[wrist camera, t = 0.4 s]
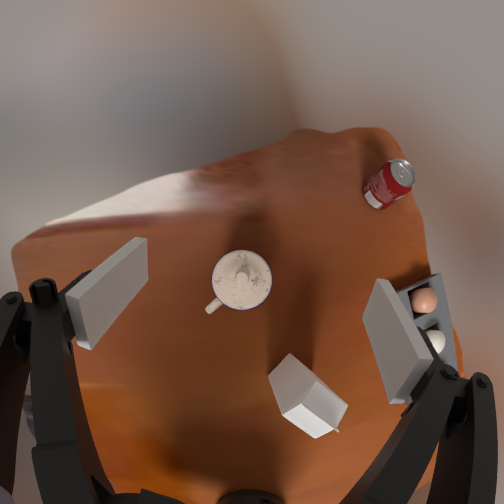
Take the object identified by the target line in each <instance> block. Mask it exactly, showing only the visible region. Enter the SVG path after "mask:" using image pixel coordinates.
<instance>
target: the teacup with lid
mask: <svg viewBox="0 0 504 504" xmlns="http://www.w3.org/2000/svg"><path fill="white" fill-rule="evenodd" d="M211 282H212V288H213V291H214V293H215V295H216V298H215V299H214V300H213V301H212V302H211V303H210V304H209V305H208V306H207V307H206V308H205V310H206V312H207V313H209V314H211V313H212V312H214V311H215V310H216V309H217V308H219V307H220V306H221V305H222V304H224V305H225V306H227V307H229V308H231V309H234V310H250V309H253V308H255V307H257V306H259V305H260V304H261V303H263V302H264V301H265V299H266V298H267V297H268V295H269V293H270V291H271V288H272V282H273V278H272V272H271V269H270V267H269V265H268V263H267V262H266V261H265V259H264V258H263V257H261V256H260V255H259V254H257V253H255V252H253V251H249V250H234V251H231V252H229V253H227V254H225V255H224V256H223V257H221V258H220V259H219V260H218V262H217V263H216V265H215V267H214V269H213V272H212V277H211Z"/></svg>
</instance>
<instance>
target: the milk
mask: <svg viewBox="0 0 504 504" xmlns="http://www.w3.org/2000/svg"><path fill="white" fill-rule="evenodd" d="M268 379H269V382H270V384H271V387H272V390H273V393H274V395H275V398H276V401H277V403H278V406H279V409H280V411H281V414H282V416H284V417H285V418H286V419H288V420H289V421H290V422H292V423H293V424H295V425H296V426H297V427H299V428H300V429H302V430H303V431H304V432H306V433H307V434H309V435H310V436H312V437H313V438H315V439H316V438H318V437H320V436H322V435H324V434H326V433H328V432H330V431H332V430H336V431H337V432H339V430H338V429H337V426H338V424H339V422H340V420H341V418H342V417H343V415H344V413H345V411H346V409H347V407H348V405H347V404H346V403H345V402H344V401H343V400H342V399H341V398H339V397H338V396H337V395H336V394H335V393H334V392H333V391H332V390H331V389H330V388H329V387H328V386H327V385H326V384H325V383H323V382H322V381H321V380H320V379H319V378H318V377H317V376H316V375H315V374H314V373H313V372H312V371H311V370H310V369H308V368H307V367H306V366H305V365H304V364H302V363H301V362H300V361H299V360H298V359H297V358H295V357H294V356H293V355H292V354H291V353H289V354H288V355H287V356H286V357H285V358H284V359H283V360H282V361H281V362H280V363H279V364H278V366H277V367H276V368H275V369H274V370H273V371H272V372H271V373H270V374H269V375H268Z"/></svg>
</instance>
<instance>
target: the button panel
mask: <svg viewBox="0 0 504 504" xmlns="http://www.w3.org/2000/svg"><path fill="white" fill-rule="evenodd" d="M420 285H421V287H422V288H432V289H433V290H434V291H435V292H436V294H437V305H436V308H435V309H434V310H433V311H432V312H430V313H418V314H416V315H414V316H413V313H412V309H411V305H410V301H409V297H408V293H407V291H409V290H411V289H414V288H416V287H418V286H420ZM395 292H396V293H397V295H398V296H399V298H400V300H401V301H402V303H403V305H404V306H405V308H406V310H407V311H408V313H409V315H410V317H411V318H412V320H413V322H414V324H415V325H416V326H418V327H420V328H421V329H423V330H425V329H427V328H429V327H431V330H437V331H442V332H443V333H444V335H445V345H444V348H443V350H442V351H441V352H440V353H438V355H439V357H440V359H441V361H442V363H443V364H448V365H451V366H452V367H453V368H455V369H456V371H457V372H458V368H457V359H456V350H455V343H454V336H453V330H452V324H451V318H450V313H449V308H448V303H447V299H446V294H445V290H444V285H443V281H442V277H441V273H439V274H433V275H431V276H429V277H426V278H424V279H422V280H420V281H418V282H415V283H413V284H411V285H409V286H406V287H404V288H402V289H400V290H397V291H395ZM411 402H412V399H411V396H410V395H409V397H408V398H407V399H406V401H405V404H407V405H410V403H411Z"/></svg>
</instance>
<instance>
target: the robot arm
mask: <svg viewBox="0 0 504 504" xmlns="http://www.w3.org/2000/svg"><path fill="white" fill-rule="evenodd" d="M147 282H148V261H147V239H146V238H140V237H135V238H133V239H132V240H131V241H129V242H128V243H127V244H125V245H124V246H123V247H122V248H120V249H119V250H118V251H116V252H115V253H114V254H113V255H111V256H110V257H109V258H108V259H106V260H105V261H104V262H103V263H101V264H100V265H99V266H98V267H96V268H95V269H94V270H93V271H92V270H89V271H87V272H84V273H82V274H81V275H79V276H78V277H77V278H76V280H73V281H72V282H71V284H69V285H67V286H66V287H65V288H64V289H63V290H61V291H60V292H59V293H58V292H57V287H56V283H55V281H54V280H53V279H49V278H43V279H39V280H36V281H34V282H33V283H32V284H31V285H30V287H29V291H30V295H31V298H32V302H33V303H29V302H24V299H23V296H22V294H21V293H20V292H16V291H15V292H10V293H7V294H5V295H4V296H3V297H2V298H1V299H0V504H15V503H14V500H13V498H12V492H13V486H14V477H15V463H16V450H17V439H18V431H19V424H20V417H21V411H22V405H23V400H24V395H25V390H26V385H27V381H28V377H29V373H30V379H31V380H30V381H31V399H32V411H33V420H34V428H35V435H36V442H37V445H36V447H33V448H32V460H33V465H34V470H35V474H36V479H37V483H38V487H39V491H40V494H41V498H42V501H43V504H185V503H183V502H181V501H179V500H177V499H174V498H170V497H167V496H164V495H160V494H157V493H154V492H151V491H148V490H145V489H141V492H140V494H139V493H119V494H115V491H114V489H113V487H112V485H111V484H110V482H109V480H108V478H107V477H106V475H105V472H104V470H103V467H102V465H101V462H100V459H99V456H98V453H97V451H96V447H95V444H94V441H93V438H92V435H91V431H90V428H89V424H88V421H87V417H86V413H85V409H84V405H83V401H82V396H81V392H80V387H79V382H78V377H77V372H76V366H75V360H74V353H73V346H72V343H71V340H72V339H73V337H74V336H76V340H77V343H78V345H79V346H81V347H84V348H86V349H89V350H92V349H93V348H94V346H95V345H96V344H97V342H98V341H99V340H100V339H101V337H102V336H103V335H104V333H105V332H106V331H107V330H108V328H109V327H110V326H111V325H112V323H113V322H114V321H115V320H116V319H117V317H118V316H119V315H120V314H121V312H122V311H123V310H124V309H125V308H126V306H127V305H128V304H129V303H130V302H131V300H132V299H133V298H134V297H135V296H136V294H137V293H138V292H139V291H140V290H141V289H142V287H143V286H144V285H145V284H146V283H147ZM362 320H363V323H364V326H365V328H366V331H367V334H368V337H369V340H370V343H371V346H372V349H373V352H374V355H375V358H376V361H377V364H378V368H379V371H380V374H381V377H382V381H383V384H384V387H385V391H386V394H387V398H388V401H389V404H401V403H404V402H405V401H406V399H407V398H408V397H409V395H410V396H411V399H412V402H411V403H410V405H409V406H408V407H407V408H406V410H405V411H404V412H403V413H402V414H401V417H402V418H401V420H400V421H399V423H398V425H397V426H396V428H395V430H394V431H393V433H392V434H391V436H390V438H389V439H388V441H387V442H386V444H385V445H384V447H383V448H382V450H381V451H380V452H379V454H378V455H377V457H376V458H375V460H374V461H373V462H372V464H371V465H370V466H369V468H368V469H367V470H366V472H365V473H364V474H363V476H362V477H361V478H360V479H359V481H358V482H357V483H356V484H355V486H354V487H353V488H352V489H351V490H350V492H349V493H348V494H347V495H346V496H345V497H344V499H343V500H342V501H341V502H340V503H339V504H407V503H408V501H409V499H410V497H411V496H412V494H413V492H414V491H415V489H416V487H417V485H418V483H419V481H420V480H421V478H422V476H423V474H424V472H425V470H426V468H427V466H428V464H429V462H430V459H431V457H432V455H433V453H434V451H435V448H436V446H437V444H438V441H439V446H438V453H437V458H436V464H435V469H434V474H433V479H432V483H431V487H430V491H429V495H428V499H427V503H426V504H494V503H495V494H496V483H497V466H498V440H497V421H496V410H495V400H494V392H493V385H492V382H491V381H490V379H489V377H488V376H486V375H485V374H482V373H479V372H477V373H474V374H473V376H472V377H471V378H470V380H468V379H464V378H460V376H459V374H458V372H457V371H456V369H455V368H453V367H452V366H451V365H448V364H443V363H442V361H441V359H440V357H439V355H438V353H437V351H436V350H435V348H434V347H433V344H432V342H431V341H430V339H429V337H428V335H427V334H426V332H425V331H424V330H423V329H421V328H420V327H418V326H416V325H415V324H414V322H413V320H412V318H411V317H410V315H409V313H408V311H407V310H406V308H405V306H404V305H403V303H402V301H401V300H400V298H399V296H398V295H397V293H396V292H395V290H394V288H393V287H392V285H391V284H390V282H389V280H385V279H379V278H377V279H376V282H375V285H374V287H373V290H372V293H371V296H370V298H369V301H368V303H367V306H366V309H365V311H364V314H363V316H362ZM217 504H283V503H282V501H281V500H280V499H279V498H278V497H277V496H275V495H273V494H271V493H268V492H264V491H259V490H243V491H237V492H234V493H231V494H228V495H226V496H225V497H223V498H222V499H221V500H220V501H219V502H218V503H217Z"/></svg>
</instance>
